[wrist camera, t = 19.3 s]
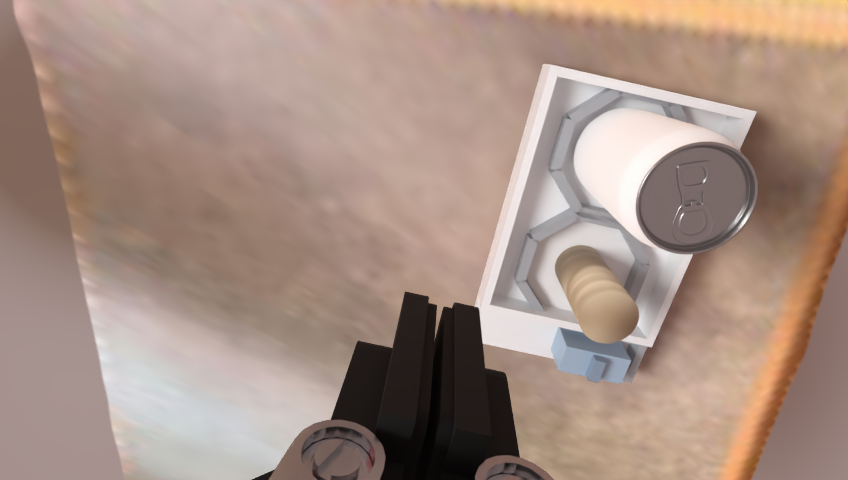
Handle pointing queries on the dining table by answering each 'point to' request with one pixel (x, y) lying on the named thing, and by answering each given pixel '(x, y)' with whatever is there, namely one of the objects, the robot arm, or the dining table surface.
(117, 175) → the dining table surface
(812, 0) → the dining table surface
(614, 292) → the dowel
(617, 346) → the latch
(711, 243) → the can
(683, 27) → the dining table surface
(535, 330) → the housing
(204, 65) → the dining table surface
